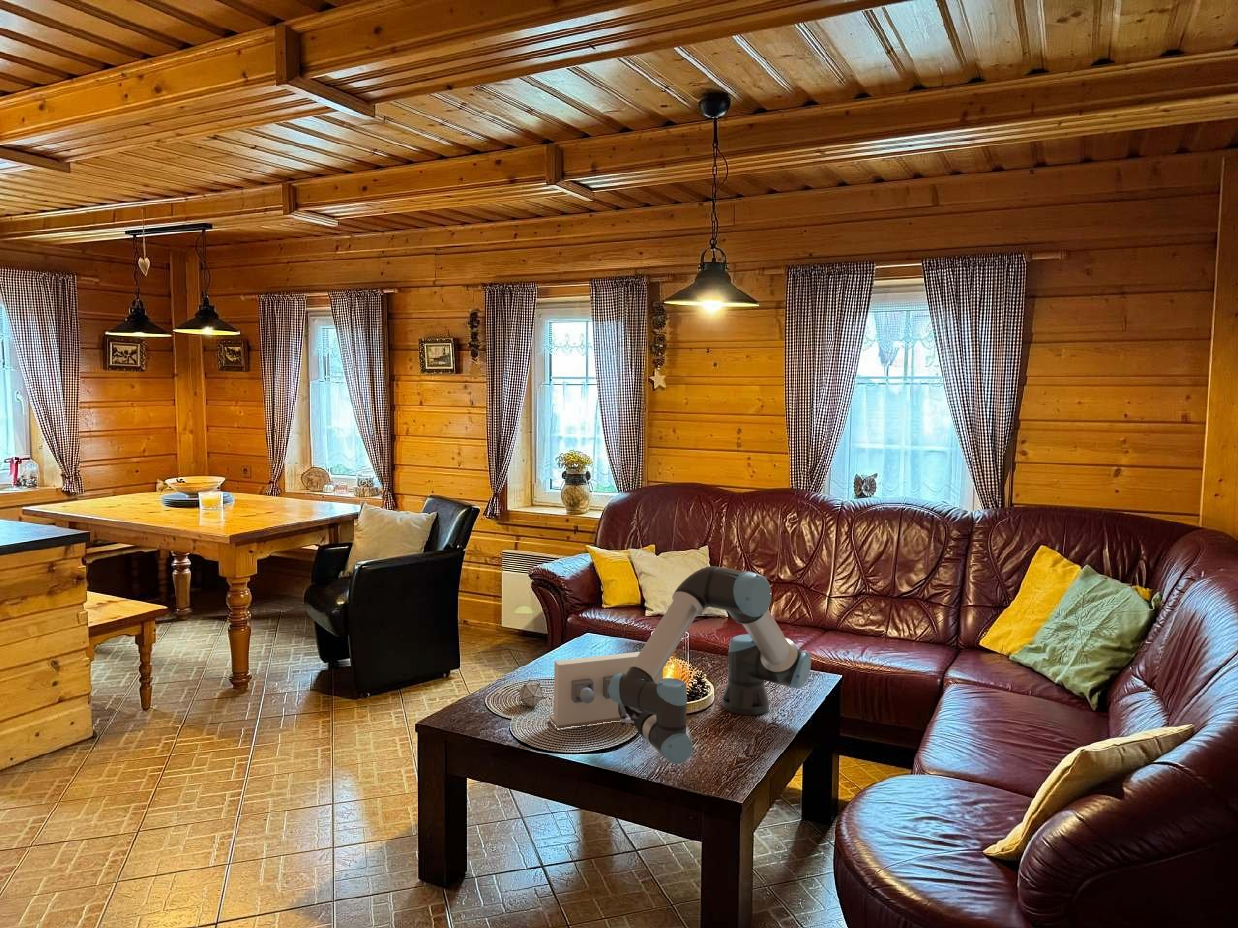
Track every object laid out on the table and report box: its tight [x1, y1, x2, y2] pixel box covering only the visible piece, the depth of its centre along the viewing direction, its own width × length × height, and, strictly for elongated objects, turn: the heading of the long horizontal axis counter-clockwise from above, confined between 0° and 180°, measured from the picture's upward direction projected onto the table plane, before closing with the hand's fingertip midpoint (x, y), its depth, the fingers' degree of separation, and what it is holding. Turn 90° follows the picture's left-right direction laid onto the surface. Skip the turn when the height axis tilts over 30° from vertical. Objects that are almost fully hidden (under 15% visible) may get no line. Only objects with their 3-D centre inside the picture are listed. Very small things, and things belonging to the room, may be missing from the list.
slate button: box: [579, 687, 595, 703], centre depth 244 cm, size 2×4×4 cm, turn 112°
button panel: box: [549, 651, 664, 728], centre depth 255 cm, size 11×34×20 cm, turn 112°
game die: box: [516, 678, 546, 709], centre depth 265 cm, size 9×8×10 cm
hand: (619, 696), depth 241 cm, fingers closed
